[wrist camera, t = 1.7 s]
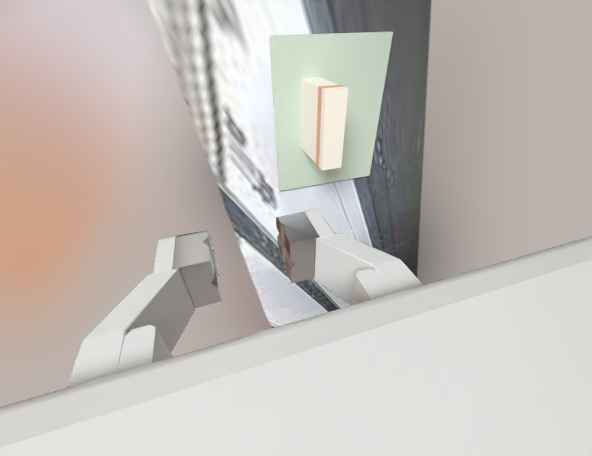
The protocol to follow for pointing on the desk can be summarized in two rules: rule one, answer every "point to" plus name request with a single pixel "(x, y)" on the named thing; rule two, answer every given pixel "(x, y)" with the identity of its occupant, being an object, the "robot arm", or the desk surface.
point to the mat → (341, 70)
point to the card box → (323, 121)
